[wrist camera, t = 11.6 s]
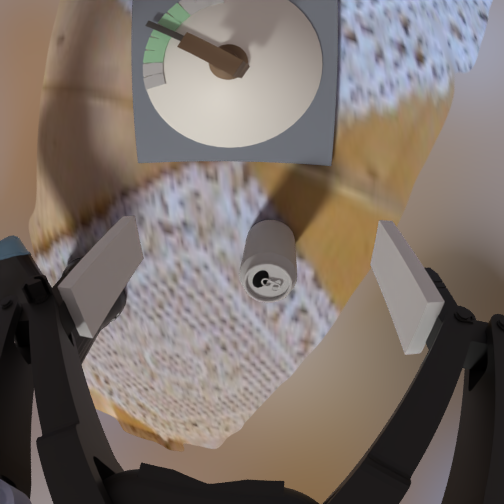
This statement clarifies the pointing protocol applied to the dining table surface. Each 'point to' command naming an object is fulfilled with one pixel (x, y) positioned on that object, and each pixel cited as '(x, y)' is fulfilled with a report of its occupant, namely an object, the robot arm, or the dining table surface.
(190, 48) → the dial pointer knob
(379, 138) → the dining table surface
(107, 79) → the dining table surface
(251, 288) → the can
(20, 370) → the robot arm
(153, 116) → the dial board
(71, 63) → the dining table surface
